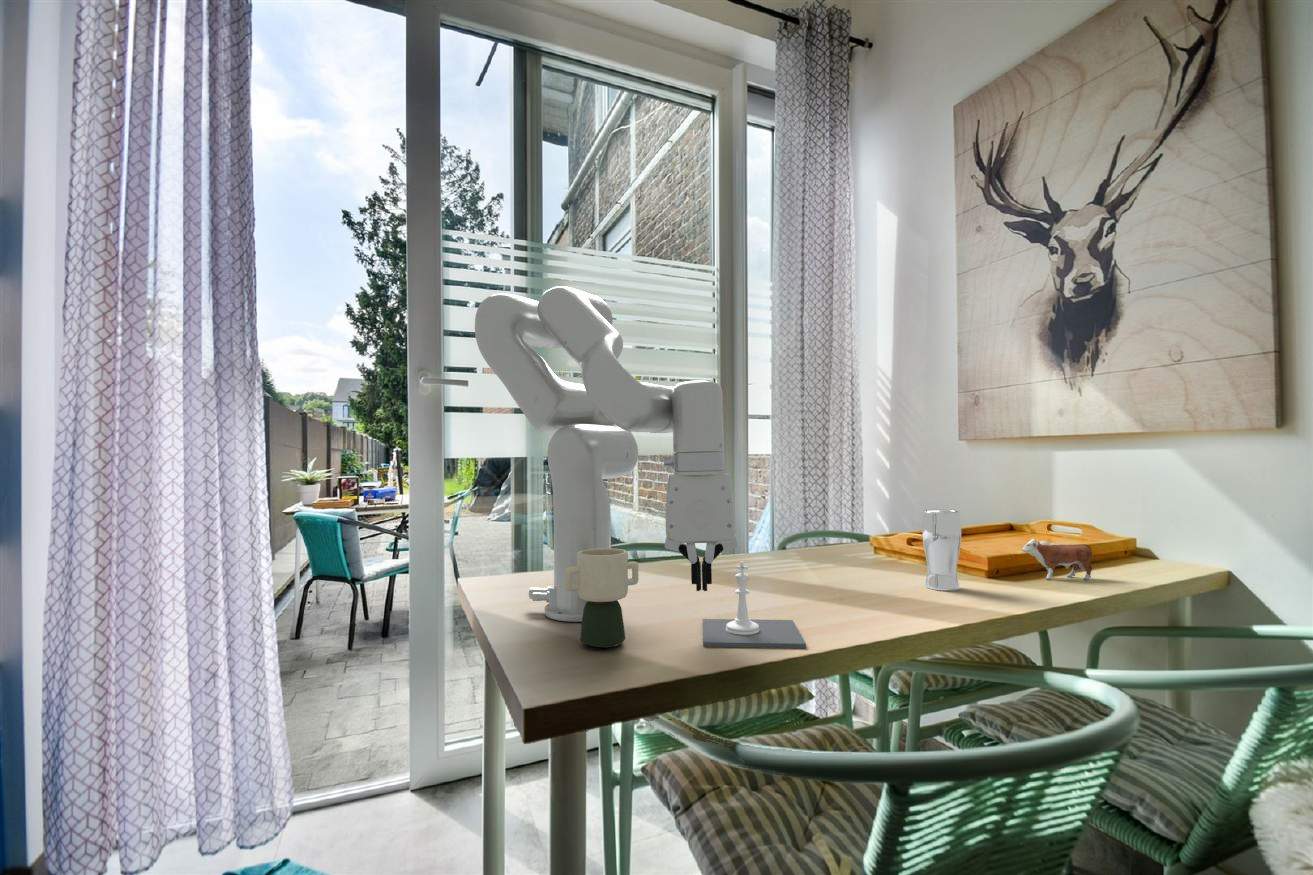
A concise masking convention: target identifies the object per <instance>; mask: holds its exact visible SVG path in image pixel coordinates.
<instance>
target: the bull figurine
mask: <svg viewBox="0 0 1313 875" xmlns="http://www.w3.org/2000/svg"><path fill="white" fill-rule="evenodd" d="M1021 551H1022V553H1028V554H1029V555H1030V556H1032V557H1034V558H1035V559H1036V560H1037V562H1038V563H1040V564H1041V565H1042V566H1043V567H1045V569H1046V570H1047V575H1045V580H1046V581H1050V580H1052V579H1053V577H1054V575H1053V573H1054V571H1055V569H1056V566H1063V567H1065V569H1066V570H1069V568H1070V567H1071V566H1072V569H1071V571H1070V572H1069V573H1068V574H1067V575H1066V578H1073V577H1075V576H1076V572H1077V571H1079V573H1082V571H1084V569H1085V576H1084V578H1083V580H1084V581H1089V580H1090V579H1092V575H1091V574H1092V570H1093V567H1092V564H1091V560H1092V557H1093V551H1092V547H1091V546H1090V545H1088V544H1086V543H1081V544H1074V543H1073V544H1061V543H1060V544H1058V543H1053V542H1049V541H1045V540H1041V541H1037V539H1035V538H1031V539H1030V540H1029V541H1028V542H1026V543H1025V545H1024V546H1023V548H1021Z"/></svg>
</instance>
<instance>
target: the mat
mask: <svg viewBox="0 0 1313 875" xmlns="http://www.w3.org/2000/svg"><path fill="white" fill-rule="evenodd" d="M731 621H735V618H702V646H703V647H708V648H709V647H710V648H711V647H713V648H714V647H715V648H716V647H717V648H764V647H778V649H779V648H780V649H782V648H783V649H807V643H806V642H805V640H804V638H803V635H802V634H801V633H800V630H799V629H798V627H797V625H796V624H795V622H794V620H793V619H755V618H754V619H751V618H750V620H749V621H752V622H755V623H757V624H758V625H759V630H760V631H759V632H758V633H756V634H751V635H737V634H732V633H729V632H727V631H726V625H727V623H729V622H731ZM781 647H782V648H781Z"/></svg>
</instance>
